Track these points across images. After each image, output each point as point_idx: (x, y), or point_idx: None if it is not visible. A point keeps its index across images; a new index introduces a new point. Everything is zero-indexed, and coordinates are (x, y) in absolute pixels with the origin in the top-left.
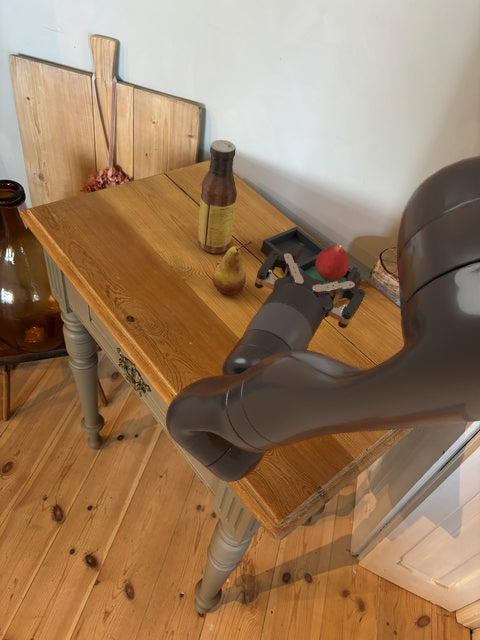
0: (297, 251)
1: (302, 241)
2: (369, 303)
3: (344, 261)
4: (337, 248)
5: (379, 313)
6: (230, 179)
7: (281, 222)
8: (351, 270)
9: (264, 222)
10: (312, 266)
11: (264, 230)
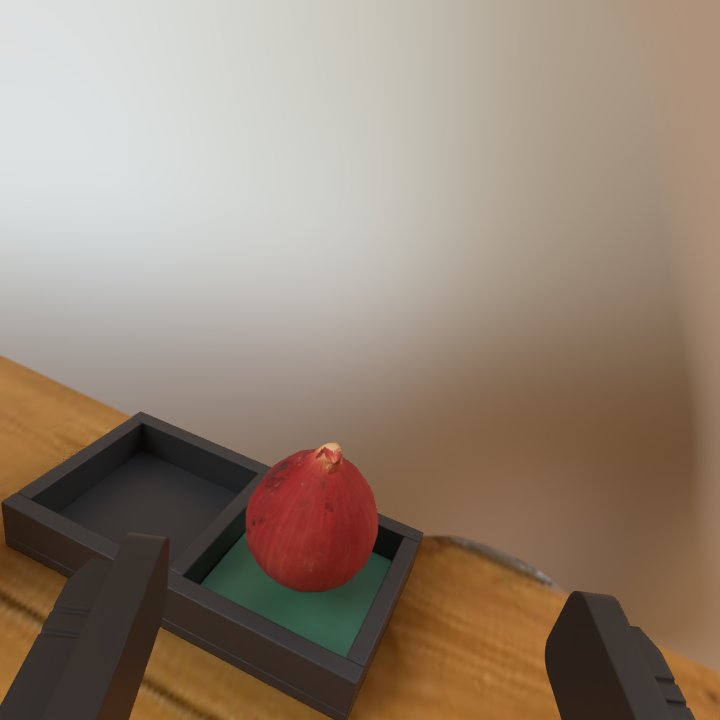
0: (112, 647)
1: (173, 457)
2: (476, 616)
3: (364, 502)
4: (324, 459)
5: (528, 647)
6: None
7: (89, 412)
8: (605, 646)
9: (23, 426)
10: (233, 543)
11: (23, 454)
